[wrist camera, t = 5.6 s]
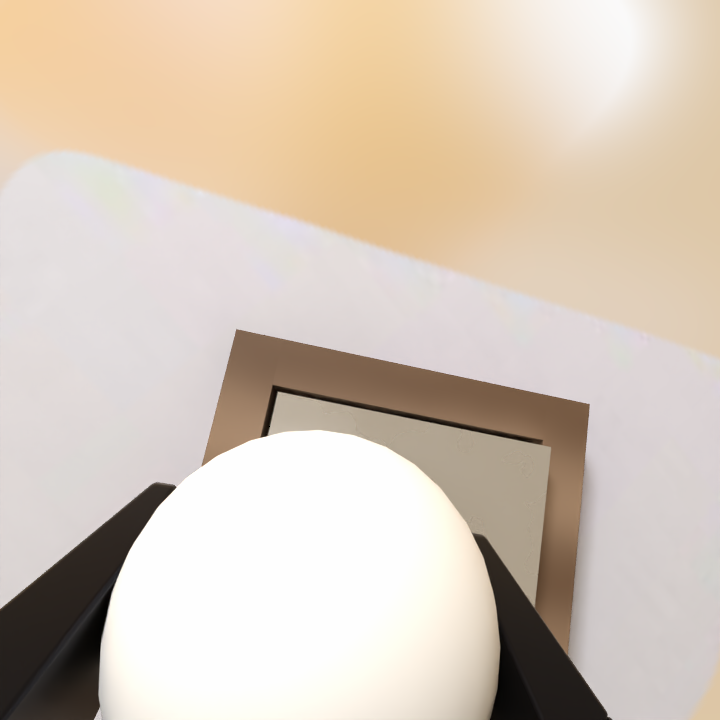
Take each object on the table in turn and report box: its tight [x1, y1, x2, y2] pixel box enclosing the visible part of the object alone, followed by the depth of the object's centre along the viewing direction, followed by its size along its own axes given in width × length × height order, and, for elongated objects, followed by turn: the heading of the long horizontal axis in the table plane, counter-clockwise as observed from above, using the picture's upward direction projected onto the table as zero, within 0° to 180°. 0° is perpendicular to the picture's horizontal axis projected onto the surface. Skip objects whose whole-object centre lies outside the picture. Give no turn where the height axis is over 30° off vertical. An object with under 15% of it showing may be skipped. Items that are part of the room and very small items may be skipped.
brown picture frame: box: [202, 329, 590, 655], centre depth 20 cm, size 16×16×3 cm
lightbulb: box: [98, 430, 500, 720], centre depth 10 cm, size 6×6×11 cm
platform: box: [268, 392, 551, 608], centre depth 18 cm, size 11×11×2 cm
